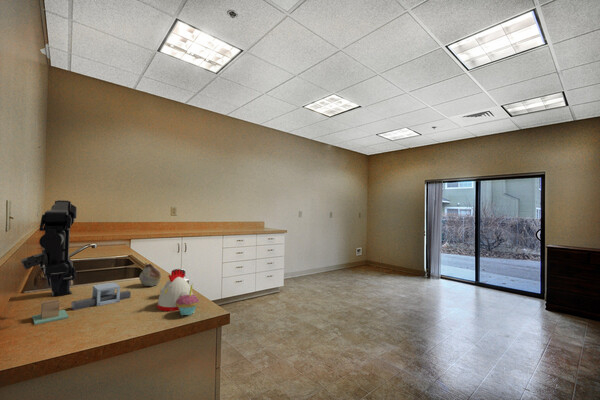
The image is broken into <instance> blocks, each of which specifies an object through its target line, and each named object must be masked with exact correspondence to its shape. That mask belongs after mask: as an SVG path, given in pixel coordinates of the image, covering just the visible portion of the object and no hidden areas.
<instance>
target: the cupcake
mask: <svg viewBox="0 0 600 400" xmlns="http://www.w3.org/2000/svg"><path fill="white" fill-rule="evenodd" d="M193 286H194V284H193V283H191V285H190V287H191V288H190V294H189V295H183V296H181V297H179V298H178V299H177V300H176V303H175V305H176V306H177V307H178V308H179V313H180V315H181V316H183V315H188V316H191V315H190V314H192V313H193V314H194V313H195V311H196V308H197V306H198V305H199V302H200V299H199V297H197V296H196V295H194V294H193V295H191V292H192V293H193ZM193 314H192V315H193Z"/></svg>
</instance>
